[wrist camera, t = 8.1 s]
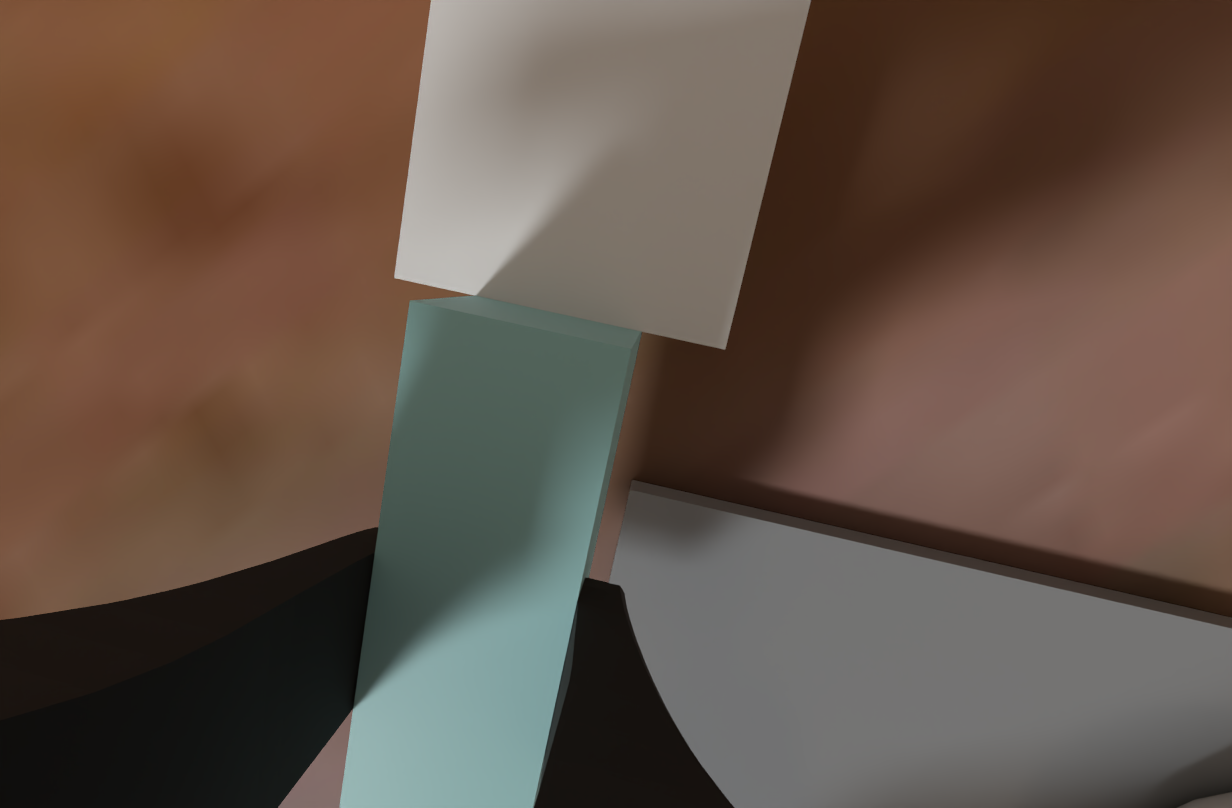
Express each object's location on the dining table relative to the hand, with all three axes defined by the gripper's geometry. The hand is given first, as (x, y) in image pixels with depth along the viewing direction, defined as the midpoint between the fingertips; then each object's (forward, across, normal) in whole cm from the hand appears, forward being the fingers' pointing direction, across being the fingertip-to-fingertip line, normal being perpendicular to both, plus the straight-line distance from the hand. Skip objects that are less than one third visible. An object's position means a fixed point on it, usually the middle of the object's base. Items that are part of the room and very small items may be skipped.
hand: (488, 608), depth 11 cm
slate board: (+8, -13, +5) cm, 16 cm away
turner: (+2, 0, -3) cm, 4 cm away
